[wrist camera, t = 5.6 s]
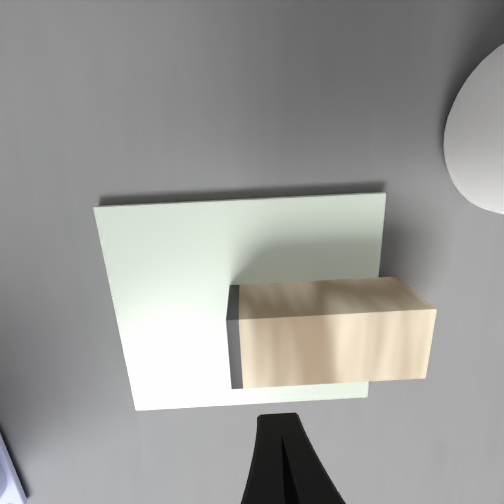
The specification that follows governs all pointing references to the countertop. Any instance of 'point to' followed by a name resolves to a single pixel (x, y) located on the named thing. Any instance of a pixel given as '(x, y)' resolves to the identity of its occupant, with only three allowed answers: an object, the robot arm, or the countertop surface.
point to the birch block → (327, 332)
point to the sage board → (223, 283)
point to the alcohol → (479, 135)
